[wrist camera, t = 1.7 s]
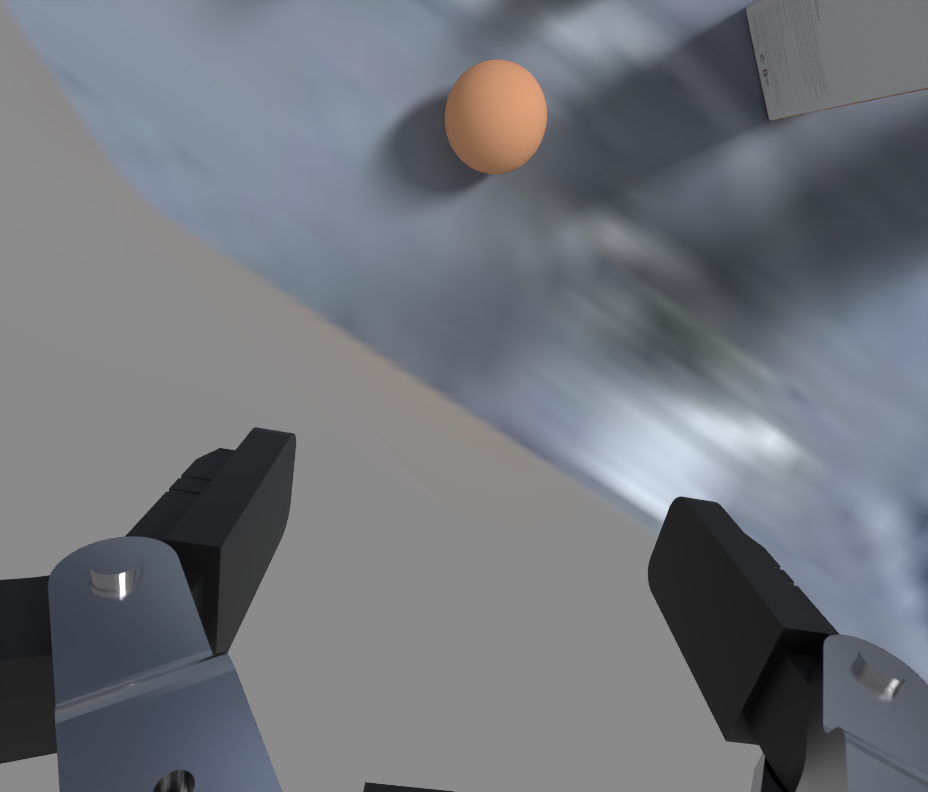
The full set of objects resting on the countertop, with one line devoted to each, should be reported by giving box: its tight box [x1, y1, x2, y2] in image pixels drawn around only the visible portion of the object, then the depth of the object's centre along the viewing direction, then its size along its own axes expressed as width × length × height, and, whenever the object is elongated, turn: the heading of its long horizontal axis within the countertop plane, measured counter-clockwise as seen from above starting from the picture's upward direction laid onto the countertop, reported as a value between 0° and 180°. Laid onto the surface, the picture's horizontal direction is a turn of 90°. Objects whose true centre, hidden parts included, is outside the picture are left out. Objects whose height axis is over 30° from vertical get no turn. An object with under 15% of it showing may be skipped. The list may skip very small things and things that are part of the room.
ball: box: [445, 60, 547, 174], centre depth 30 cm, size 6×6×6 cm
